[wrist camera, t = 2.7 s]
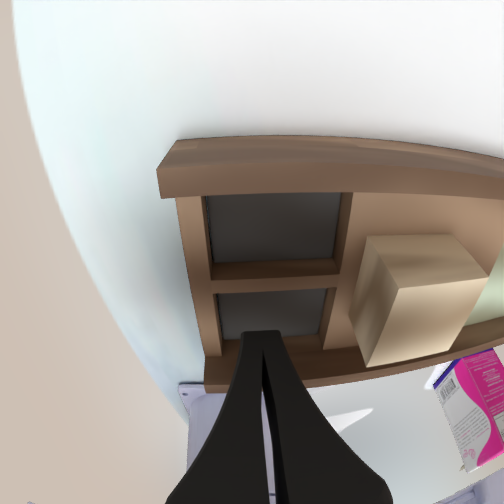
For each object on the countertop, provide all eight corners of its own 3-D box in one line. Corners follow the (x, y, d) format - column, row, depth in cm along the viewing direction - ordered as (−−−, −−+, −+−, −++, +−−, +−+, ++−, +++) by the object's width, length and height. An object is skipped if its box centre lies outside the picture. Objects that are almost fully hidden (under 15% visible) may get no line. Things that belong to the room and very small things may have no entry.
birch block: (423, 305, 16) (448, 350, 13) (348, 314, 16) (366, 367, 13) (451, 233, 13) (489, 277, 10) (367, 236, 13) (399, 288, 10)
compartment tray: (508, 307, 20) (526, 334, 17) (208, 347, 19) (205, 393, 16) (563, 175, 12) (593, 198, 9) (176, 140, 12) (156, 169, 9)
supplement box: (467, 376, 27) (499, 456, 17) (431, 385, 26) (463, 476, 17) (494, 344, 23) (536, 430, 14) (459, 352, 23) (502, 452, 13)
